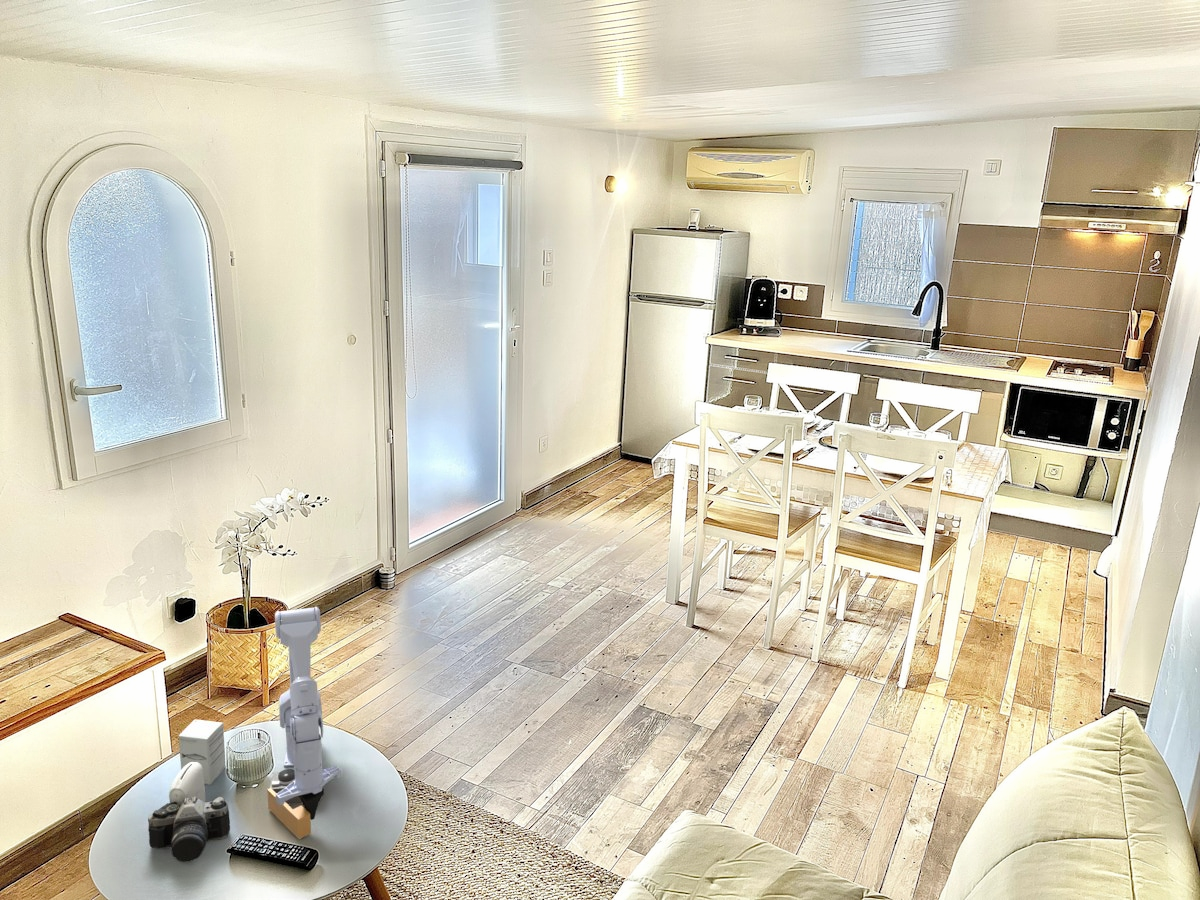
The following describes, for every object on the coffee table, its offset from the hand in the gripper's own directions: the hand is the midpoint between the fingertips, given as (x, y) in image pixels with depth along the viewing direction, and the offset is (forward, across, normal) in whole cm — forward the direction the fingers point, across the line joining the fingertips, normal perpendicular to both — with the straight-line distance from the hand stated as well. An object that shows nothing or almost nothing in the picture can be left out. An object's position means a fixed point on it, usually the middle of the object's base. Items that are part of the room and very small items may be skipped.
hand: (310, 817), depth 194 cm
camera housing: (+3, +3, +13) cm, 13 cm away
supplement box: (+3, -9, +34) cm, 35 cm away
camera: (+3, -22, +12) cm, 25 cm away
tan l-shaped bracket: (+2, -2, +5) cm, 6 cm away
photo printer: (+3, -18, +21) cm, 27 cm away
